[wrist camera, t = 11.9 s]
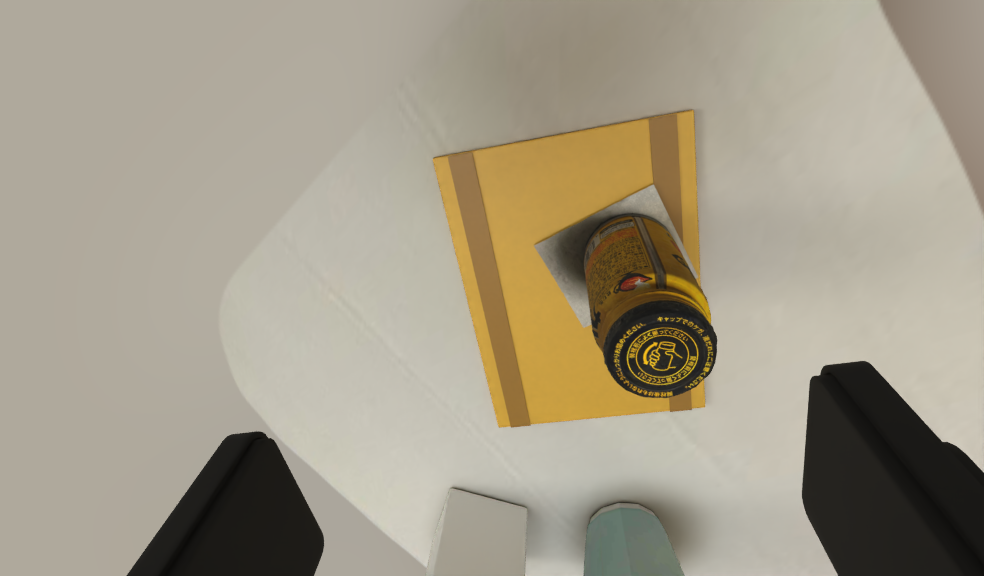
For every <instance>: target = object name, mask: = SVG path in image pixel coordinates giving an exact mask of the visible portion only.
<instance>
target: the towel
mask: <svg viewBox="0 0 984 576" xmlns="http://www.w3.org/2000/svg"><path fill="white" fill-rule="evenodd" d="M433 163H434V167H435V171H436V175H437V179H438V183H439V187H440V191H441V195H442V199H443V203H444V207H445V211H446V215H447V219H448V223H449V227H450V232H451V236H452V240H453V244H454V248H455V252H456V256H457V260H458V264H459V268H460V272H461V276H462V280H463V284H464V288H465V292H466V296H467V300H468V305H469V309H470V313H471V317H472V321H473V325H474V329H475V333H476V337H477V341H478V345H479V349H480V353H481V357H482V361H483V365H484V369H485V373H486V378H487V382H488V386H489V390H490V394H491V398H492V402H493V406H494V410H495V414H496V418H497V422H498V426H499V427H509V426H511V427H520V426H530V425H531V424H540V423H550V422H560V421H570V420H580V419H590V418H601V417H611V416H621V415H631V414H641V413H651V412H662V411H670V412H673V411H683V410H692V408H702V407H705V391H704V379H703V380H702V381H701V382H700V383H699V385H698V386H697V387H695V388H693V389H691V390H689V391H687V392H685V393H683V394H680V395H676V396H672V397H669V398H650V397H642V396H638V395H636V394H633V393H631V392H629V391H626V390H625V389H624V388H622V387H621V386H620V385H619V384H618V383H617V382H616V381H615V380H614V379H613V377H612V376H611V374H610V372H609V371H608V368H607V366H606V364H605V363H604V356H603V353H602V351H601V350H600V348H599V347H598V345H597V343H596V341H595V338H594V335H593V332H592V325H589V326H587V327H585V328H583V326H582V325H581V323H580V321H579V320H578V318H577V316H576V314H575V313H574V311H573V309H572V308H571V306H570V304H569V303H568V301H567V299H566V297H565V296H564V293H563V292H562V291H561V289H560V288H559V286H558V284H557V282H556V281H555V279H554V277H553V276H552V274H551V273H550V271H549V269H548V268H547V266H546V264H545V263H544V261H543V260H542V258H541V256H540V255H539V254H538V252H537V250H536V249H535V247H534V246H535V245H537V244H538V243H540V242H542V241H545V240H547V239H549V238H550V237H552V236H554V235H555V234H557V233H559V232H561V231H563V230H565V229H567V228H569V227H571V226H573V225H575V224H578V223H580V222H581V221H583V220H585V219H586V218H588V217H590V216H592V215H594V214H596V213H598V212H599V211H602V210H604V209H605V208H607V207H609V206H611V205H613V204H615V203H617V202H620V201H621V200H623V199H625V198H627V197H629V196H631V195H633V194H635V193H637V192H639V191H641V190H643V189H645V188H647V187H649V186H651V185H653V184H654V186H655V188H656V190H657V192H658V194H659V196H660V199H661V201H662V203H663V205H664V207H665V209H666V211H667V213H668V215H669V217H670V219H671V221H672V224H673V226H674V228H675V230H676V232H677V234H678V236H679V238H680V240H681V242H682V244H683V246H684V248H685V250H686V253H687V255H688V257H689V259H690V261H691V262H692V265H693V267H694V269H695V271H696V273H697V275H698V277H699V278H696V281H697V283H698V285H699V286H700V288H701V285H700V259H699V232H698V205H697V179H696V152H695V126H694V111H693V110H688V111H683V112H677V113H672V114H666V115H661V116H656V117H650V118H645V119H640V120H634V121H629V122H623V123H618V124H613V125H607V126H602V127H597V128H591V129H586V130H580V131H575V132H570V133H564V134H559V135H553V136H548V137H543V138H537V139H532V140H527V141H521V142H516V143H510V144H505V145H500V146H494V147H489V148H483V149H478V150H473V151H467V152H462V153H457V154H451V155H446V156H440V157H435V158H433Z"/></svg>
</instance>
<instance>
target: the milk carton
mask: <svg viewBox="0 0 984 576" xmlns="http://www.w3.org/2000/svg"><path fill="white" fill-rule="evenodd" d="M526 534H527V508H524V507H521V506H518V505H514V504H510V503H506V502H502V501H499V500H495V499H491V498H487V497H484V496H480V495H476V494H472V493H469V492H465V491H461V490H457V489H453V488H451V489H450V490H449V493H448V496H447V499H446V502H445V505H444V508H443V511H442V514H441V518H440V521H439V524H438V527H437V530H436V533H435V536H434V539H433V542H432V547H431V552H430V556H429V561H428V566H427V571H426V575H425V576H525V562H526Z"/></svg>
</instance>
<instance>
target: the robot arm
mask: <svg viewBox="0 0 984 576" xmlns="http://www.w3.org/2000/svg"><path fill="white" fill-rule="evenodd" d="M802 499H803V504H804V508H805V511H806V514H807V516H808V518H809V520H810V522H811V524H812V526H813V528H814V530H815V532H816V534H817V536H818V538H819V540H820V541H821V543H822V545H823V547H824V549H825V551H826V553H827V555H828V557H829V559H830V561H831V563H832V564H833V566H834V568H835V570H836V572H837V574H838V576H984V473H983V472H982V470H981V469H980V468H979V467H978V466H977V465H976V464H975V463H974V462H973V461H972V460H971V459H970V458H969V457H968V456H967V455H966V454H965V453H964V452H963V451H962V450H960V449H959V448H958V447H957V446H955V445H953V444H950V443H948V442H942V441H941V440H940V439H939V438H938V437H937V436H936V435H935V434H934V432H933V431H932V430H931V429H930V428H929V427H928V426H927V425H926V424H925V423H924V422H923V420H922V419H921V418H920V417H919V416H918V415H917V414H916V413H915V412H914V411H913V410H912V408H911V407H910V406H909V405H908V404H907V403H906V402H905V401H904V400H903V399H902V397H901V396H900V395H899V394H898V393H897V392H896V391H895V390H894V389H893V388H892V387H891V385H890V384H889V383H888V382H887V381H886V380H885V379H884V378H883V377H882V376H881V375H880V373H879V372H878V371H877V370H876V369H875V368H874V367H873V366H872V365H871V364H870V363H868V362H866V361H859V362H850V363H842V364H833V365H826V366H824V367H823V368H822V370H821V375H819V376H813V377H812V378H811V380H810V388H809V402H808V416H807V430H806V444H805V459H804V473H803V487H802ZM323 548H324V537H323V533H322V531H321V529H320V527H319V525H318V523H317V521H316V519H315V517H314V516H313V514H312V512H311V510H310V508H309V506H308V504H307V502H306V500H305V498H304V496H303V494H302V492H301V490H300V488H299V487H298V485H297V483H296V481H295V479H294V477H293V475H292V473H291V471H290V469H289V467H288V465H287V464H286V461H285V460H284V458H283V456H282V454H281V452H280V450H279V448H278V446H277V444H276V443H275V441H274V440H273V439H271V438H268V437H267V436H266V434H264V433H263V432H249V433H240V434H232V435H229V436H227V437H226V438H225V439H224V440H223V441H222V443H221V445H220V446H219V447H218V449H217V450H216V451H215V453H214V454H213V456H212V457H211V458H210V460H209V461H208V462H207V464H206V465H205V467H204V468H203V470H202V471H201V472H200V474H199V475H198V476H197V478H196V479H195V481H194V482H193V484H192V485H191V486H190V488H189V489H188V491H187V492H186V493H185V495H184V496H183V497H182V499H181V500H180V502H179V503H178V505H177V506H176V507H175V509H174V510H173V511H172V513H171V514H170V516H169V517H168V519H167V520H166V521H165V523H164V524H163V525H162V527H161V528H160V530H159V531H158V532H157V534H156V535H155V537H154V538H153V540H152V541H151V542H150V544H149V545H148V546H147V548H146V549H145V551H144V552H143V553H142V555H141V556H140V558H139V559H138V561H137V562H136V563H135V565H134V566H133V568H132V569H131V570H130V572H129V573H128V575H127V576H314V574H315V571H316V569H317V566H318V564H319V561H320V558H321V556H322V553H323Z"/></svg>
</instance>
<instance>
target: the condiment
mask: <svg viewBox="0 0 984 576" xmlns="http://www.w3.org/2000/svg"><path fill="white" fill-rule="evenodd" d="M534 247H535V249H536V250H537V252H538V254H539V255H540V256H541V258H542V260H543V261H544V263H545V264H546V266H547V268H548V269H549V271H550V273H551V274H552V276H553V277H554V279H555V281H556V282H557V284H558V286H559V288H560V289H561V291H562V292H563V293H564V296H565V297H566V299H567V301H568V303H569V304H570V306H571V308H572V309H573V311H574V313H575V314H576V316H577V318H578V320H579V321H580V323H581V325H582V326H583V328H585V327H587V326H589V325H592V332H593V335H594V338H595V341H596V343H597V345H598V347H599V348H600V350H601V351H602V353H603V356H604V363H605V364H606V366H607V368H608V371H609V372H610V374H611V376H612V377H613V379H614V380H615V381H616V382H617V383H618V384H619V385H620V386H621V387H622V388H624V389H625V390H626V391H629V392H631V393H633V394H636V395H638V396H642V397H650V398H669V397H672V396H676V395H680V394H683V393H685V392H687V391H689V390H691V389H693V388H695V387H697V386H698V385H699V383H700V382H701V381H702V380H703V379H704V378H706V377H707V376H708V375H709V374H710V373H711V371H712V369H713V366H714V364H715V359H716V354H717V336H716V334H715V332H714V330H713V327H712V326H711V313H710V310H709V306H708V302H707V299H706V297H705V295H704V294H703V291H702V289H701V288H700V286H699V285H698V283H697V281H696V278H699V277H698V275H697V273H696V271H695V269H694V267H693V265H692V262H691V261H690V259H689V257H688V255H687V253H686V250H685V248H684V246H683V244H682V242H681V240H680V238H679V236H678V234H677V232H676V230H675V228H674V226H673V224H672V221H671V219H670V217H669V215H668V213H667V211H666V209H665V207H664V205H663V203H662V201H661V199H660V196H659V194H658V192H657V190H656V188H655V186H654V184H653V185H651V186H649V187H647V188H645V189H643V190H641V191H639V192H637V193H635V194H633V195H631V196H629V197H627V198H625V199H623V200H621V201H620V202H617V203H615V204H613V205H611V206H609V207H607V208H605V209H604V210H602V211H599V212H598V213H596V214H594V215H592V216H590V217H588V218H586V219H585V220H583V221H581V222H580V223H578V224H575V225H573V226H571V227H569V228H567V229H565V230H563V231H561V232H559V233H557V234H555V235H554V236H552V237H550V238H549V239H547V240H545V241H542V242H540V243H538V244H537V245H535V246H534Z"/></svg>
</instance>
